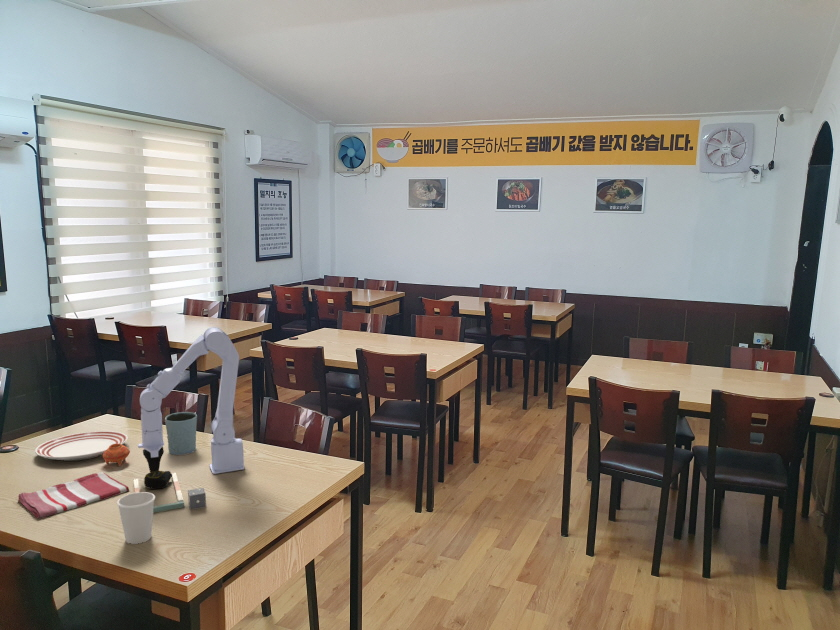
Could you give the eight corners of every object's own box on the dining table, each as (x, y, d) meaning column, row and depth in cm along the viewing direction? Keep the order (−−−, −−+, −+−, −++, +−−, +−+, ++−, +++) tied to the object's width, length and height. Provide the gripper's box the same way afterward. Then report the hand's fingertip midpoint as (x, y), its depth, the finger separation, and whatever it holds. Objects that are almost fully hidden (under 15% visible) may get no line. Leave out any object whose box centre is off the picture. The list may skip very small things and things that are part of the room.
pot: (136, 461, 200) (130, 443, 198) (112, 473, 195) (105, 455, 193) (127, 454, 206) (121, 436, 204) (102, 466, 201) (96, 447, 198)
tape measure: (166, 491, 179) (165, 478, 179) (141, 491, 179) (140, 479, 178) (172, 481, 186) (172, 469, 186) (148, 482, 185) (148, 470, 185)
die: (204, 501, 173) (203, 487, 172) (206, 507, 169) (205, 493, 168) (188, 504, 171) (187, 490, 170) (190, 510, 167) (189, 495, 167)
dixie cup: (149, 526, 158) (147, 488, 156) (162, 538, 152) (160, 499, 150) (114, 537, 152) (112, 498, 151) (126, 550, 146) (123, 509, 145)
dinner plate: (23, 452, 209) (22, 443, 209) (107, 433, 230) (106, 424, 229) (54, 473, 191) (53, 463, 191) (142, 450, 212) (142, 441, 211)
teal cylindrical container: (187, 443, 218) (185, 410, 217) (204, 449, 212) (203, 415, 211) (160, 451, 210) (158, 417, 208) (178, 458, 204) (176, 422, 203)
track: (175, 476, 189) (175, 472, 189) (184, 507, 169) (184, 502, 169) (133, 483, 184) (133, 479, 184) (137, 515, 164) (136, 511, 163)
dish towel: (16, 502, 172) (15, 493, 172) (104, 477, 190) (104, 469, 189) (39, 521, 161) (38, 511, 161) (130, 493, 179) (129, 484, 178)
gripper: (136, 423, 191) (138, 466, 193) (138, 438, 178) (140, 483, 180) (161, 420, 194) (163, 462, 196) (165, 434, 181) (167, 479, 183)
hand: (154, 472), depth 188 cm, fingers closed
